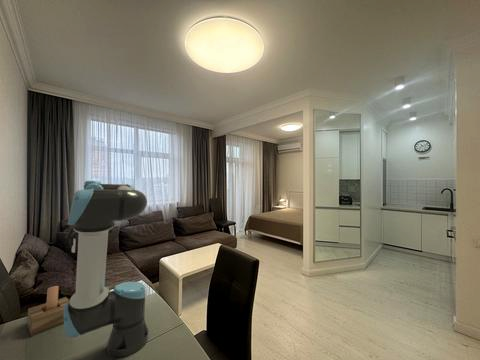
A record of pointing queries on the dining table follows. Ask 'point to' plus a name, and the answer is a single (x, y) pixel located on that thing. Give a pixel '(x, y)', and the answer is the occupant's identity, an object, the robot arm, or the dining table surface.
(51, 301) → the peg
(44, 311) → the socket block
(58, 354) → the dining table surface
